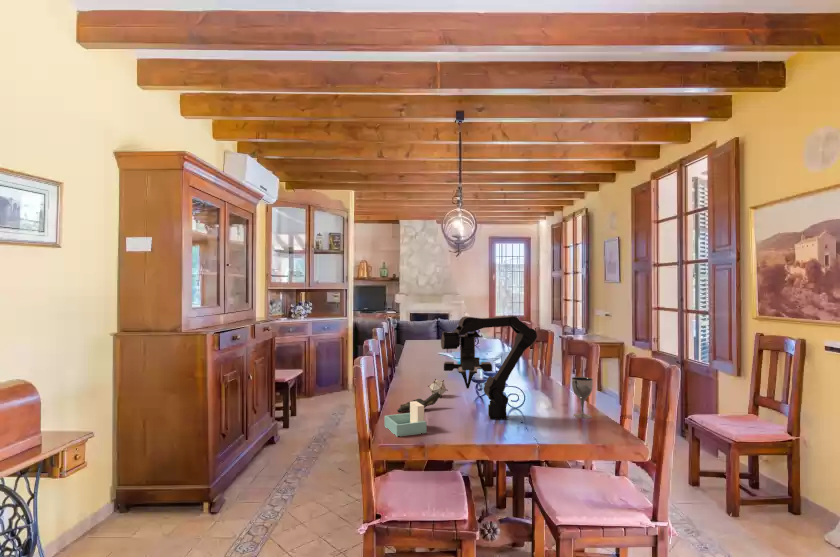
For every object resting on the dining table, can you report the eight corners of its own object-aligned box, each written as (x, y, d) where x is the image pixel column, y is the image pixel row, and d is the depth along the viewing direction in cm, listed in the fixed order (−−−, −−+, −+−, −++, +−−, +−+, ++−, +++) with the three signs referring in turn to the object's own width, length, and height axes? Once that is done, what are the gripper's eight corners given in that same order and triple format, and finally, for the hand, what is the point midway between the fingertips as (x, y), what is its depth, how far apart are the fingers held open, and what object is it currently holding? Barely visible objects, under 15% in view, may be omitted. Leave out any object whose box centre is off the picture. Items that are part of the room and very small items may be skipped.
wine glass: (593, 414, 193) (593, 377, 193) (592, 419, 186) (591, 381, 186) (573, 412, 197) (573, 376, 197) (570, 417, 189) (570, 379, 190)
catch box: (412, 422, 182) (412, 412, 183) (426, 432, 170) (426, 421, 170) (384, 426, 178) (384, 415, 178) (396, 436, 166) (396, 425, 166)
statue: (402, 420, 195) (444, 405, 204) (400, 408, 194) (443, 393, 202) (396, 414, 201) (437, 400, 209) (394, 402, 199) (436, 388, 208)
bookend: (416, 425, 180) (416, 401, 180) (424, 430, 173) (424, 405, 173) (392, 428, 176) (392, 403, 176) (399, 433, 169) (399, 408, 170)
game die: (434, 403, 227) (429, 384, 232) (451, 397, 226) (445, 378, 231) (429, 398, 219) (424, 378, 225) (446, 392, 218) (440, 372, 224)
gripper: (443, 351, 180) (443, 392, 180) (493, 351, 179) (493, 393, 179) (444, 347, 192) (444, 386, 191) (490, 347, 190) (490, 387, 190)
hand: (467, 388), depth 188 cm, fingers closed
